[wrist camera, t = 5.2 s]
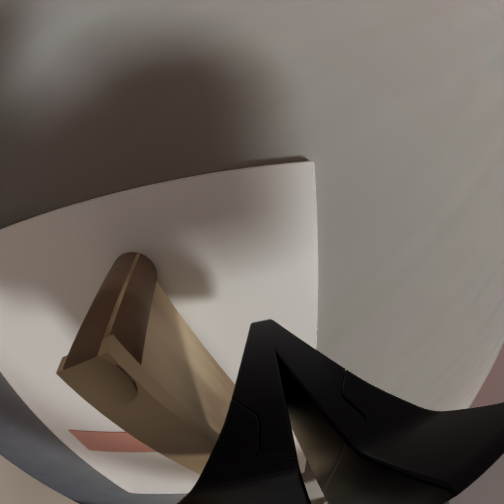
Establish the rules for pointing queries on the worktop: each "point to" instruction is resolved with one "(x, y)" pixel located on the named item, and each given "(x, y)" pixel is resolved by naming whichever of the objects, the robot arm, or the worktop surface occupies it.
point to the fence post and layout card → (171, 281)
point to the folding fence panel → (148, 367)
